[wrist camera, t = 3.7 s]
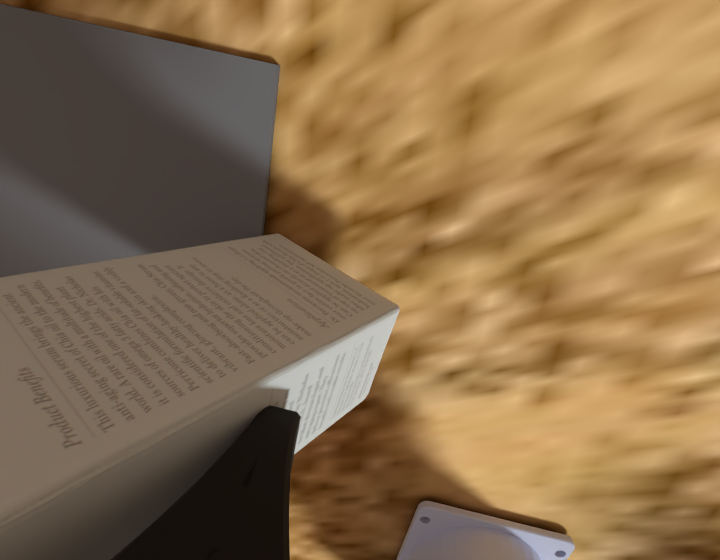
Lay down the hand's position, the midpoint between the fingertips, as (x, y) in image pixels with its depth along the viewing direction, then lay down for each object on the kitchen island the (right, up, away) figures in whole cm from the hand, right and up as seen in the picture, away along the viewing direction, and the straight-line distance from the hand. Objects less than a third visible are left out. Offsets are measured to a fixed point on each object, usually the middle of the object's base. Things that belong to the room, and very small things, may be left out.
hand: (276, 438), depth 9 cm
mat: (-10, +5, +8) cm, 14 cm away
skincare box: (+1, +2, +6) cm, 6 cm away
